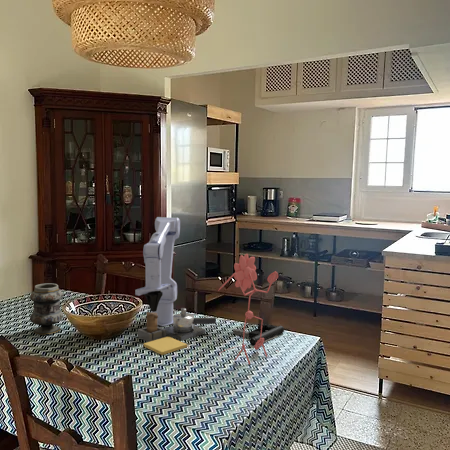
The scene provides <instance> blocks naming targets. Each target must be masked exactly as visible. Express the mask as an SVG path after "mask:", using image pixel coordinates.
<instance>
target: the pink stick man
mask: <svg viewBox="0 0 450 450" xmlns="http://www.w3.org/2000/svg"><path fill="white" fill-rule="evenodd" d="M255 262H256V257H255V256H250V257H249V254H248V253H246V254H244V256H243V255H242V254H241V255H240V256H239V260H238V263H237V262H235V263H234V265H233V267H234V273H232V275H231V276H229V277H228V279H227V280H225V281H224V283H223V284H221V286H220V287H219V289H218V291H220V290H221V289H222V288H223V287H224V286H225V285H226V284H227V283H228V282H229V281H231V279H232V278H234V280H236V281H235V284H234V286H235V288H240V290H241V291H242V294H243V296H244V297H246V296H248V295H249V297H248V305H247V311H246V312H245V315H244V316H245V319H244V325H243V336H242V346H241V349H240V351H239V352H238V354H237V356H236V357H235V358H234V360H233V361H234V362H236V361H237V359H238V358H239V357H240V355H241V353H242V352H243V351H244V355H245V357H246V360H247V363H248V365H251V361H250V359H249V356H248V353H247V350H246V348H245V347H246V344H244V343H245V337H244V332H245V331H246V329H245V328H246V324H247V320H251V319H253V318H256V319H259V320H261V323H260V324H261V334H262V323H263V322H264V320H263V318H260V317H259V316H258V317H257V316H255V315H254V312H253V311H251V310H250V305H251V298H252V297H251V296H253V294H255V293H256V292H258V293H259V292H260V293H265V294H268V293H269V291H270V289H271V286H272V285H273V283H274V282H276V281H277V280H278V278H279V273H278V271H276V270H275V271H274V272H271V273H270V274H269V275H268V276H267V282H268V283H269V285H268V288H267V290H261V289H257V288H256V285H255V283H254V281H257V279H258V274H257V271H256V270H257V267H256V264H255ZM251 287H253V290H250V291H248V292H246V291H247V289H251ZM245 292H246V293H245ZM263 324H264V323H263ZM261 334H260V339H259V340H258V341H257V342H256V344H255V345H253V346H254V349H255V350H256V351H258V350H259V349H260V348H261V347H262V349H263V352H264V355H265V357H268V353H267V350H266V348H265V346H264V338H262V339H261ZM238 347H240V346H237V348H238ZM234 348H236V346H234V347H233V346H232V347H231V348H226V349H223V351H221V352H220V354H221V353H223V352H225V351H227V350H230V349H234ZM275 351H277V352H278V353H280V351H279V350H277V349H276V350H275Z"/></svg>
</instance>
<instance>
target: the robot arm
mask: <svg viewBox="0 0 450 450" xmlns="http://www.w3.org/2000/svg"><path fill="white" fill-rule="evenodd" d="M154 220H155V221H154V229H155V232H153V234H152V235H151V237H150V239H149V241H148V242H147V243H145V244H144V245H143V251H142V255H143V260H144V261H143V263H144V264H145V286H144V287H140V288H137V289H134V290H135V293H134V294H135V296H142V295H144V296H145V298H146V300H147V303H148V307H149V310H150V313H157V316H158V318H157V326H159V327H160V326H161V327H166V326H171V325H173V316H174V302H176V300H177V299H178V284H177V282H176V281H175V280H174V279H173V278H172V273H173V259H174V248H175V242H176V240H178V239H180V233H181V219H180V218H179V217H166V216H165V217H163V216H162V217H161V216H157V217H156V218H155V219H154Z"/></svg>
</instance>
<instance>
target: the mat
mask: <svg viewBox="0 0 450 450" xmlns="http://www.w3.org/2000/svg"><path fill="white" fill-rule="evenodd" d="M143 347H144V348H147V349H149V350H150V351H153V352H155V353H157V354H160V355H161V356H163V355H166V354H170V353H173V352H176V351H178V350H179V351H180V350H182V349H185V348H187V347H188V344H187V343H186V342H182V341H181V340H179V339H176V338H174V337H172V336H169V335H167V336H166V337H164V338H161V339H157V340H154V341H150V342H147V341H146V342H144V343H143Z"/></svg>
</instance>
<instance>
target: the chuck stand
mask: <svg viewBox="0 0 450 450" xmlns="http://www.w3.org/2000/svg"><path fill="white" fill-rule="evenodd" d="M162 328H163V329H165V330H166V336H169V337H171V338H173V339H176V340H178V341H185V340H188V339H192V338H194V337H197V336H200V335H201V336H202V335H205V334H206V329H205V328H203V327H200V326H197V325H196V324H194V330H192V331H190V332H177V331H174V330H173V325H169V326H167V327H166V326H165V327H162Z"/></svg>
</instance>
